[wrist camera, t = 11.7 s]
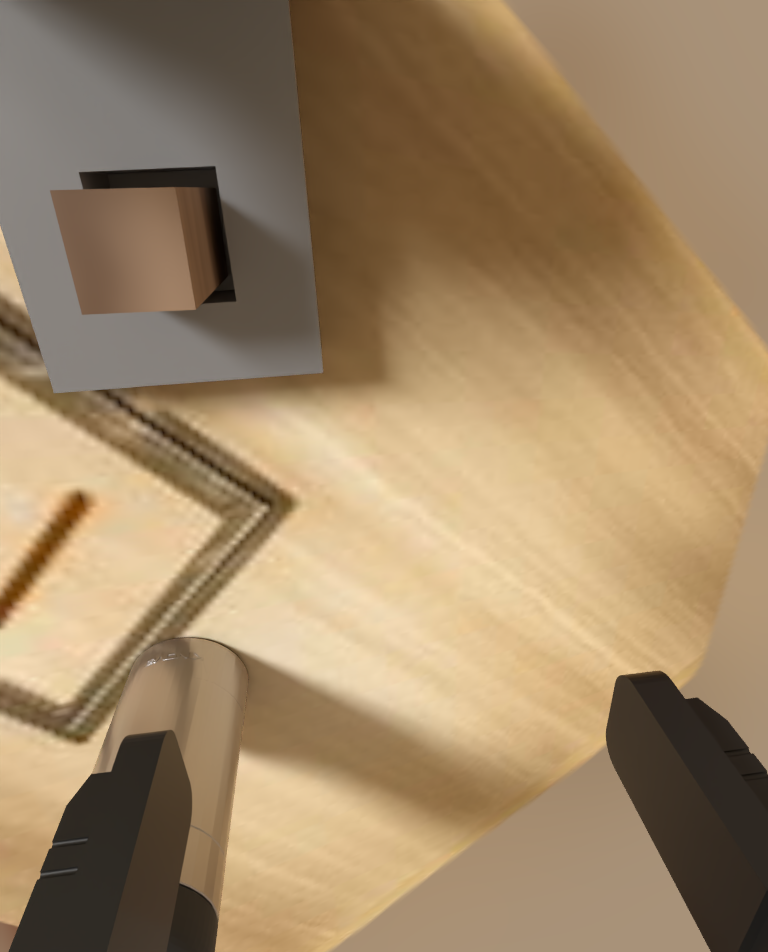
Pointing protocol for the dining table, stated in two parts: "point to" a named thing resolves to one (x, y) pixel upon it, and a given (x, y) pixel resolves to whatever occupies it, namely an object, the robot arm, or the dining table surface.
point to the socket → (160, 178)
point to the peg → (142, 247)
